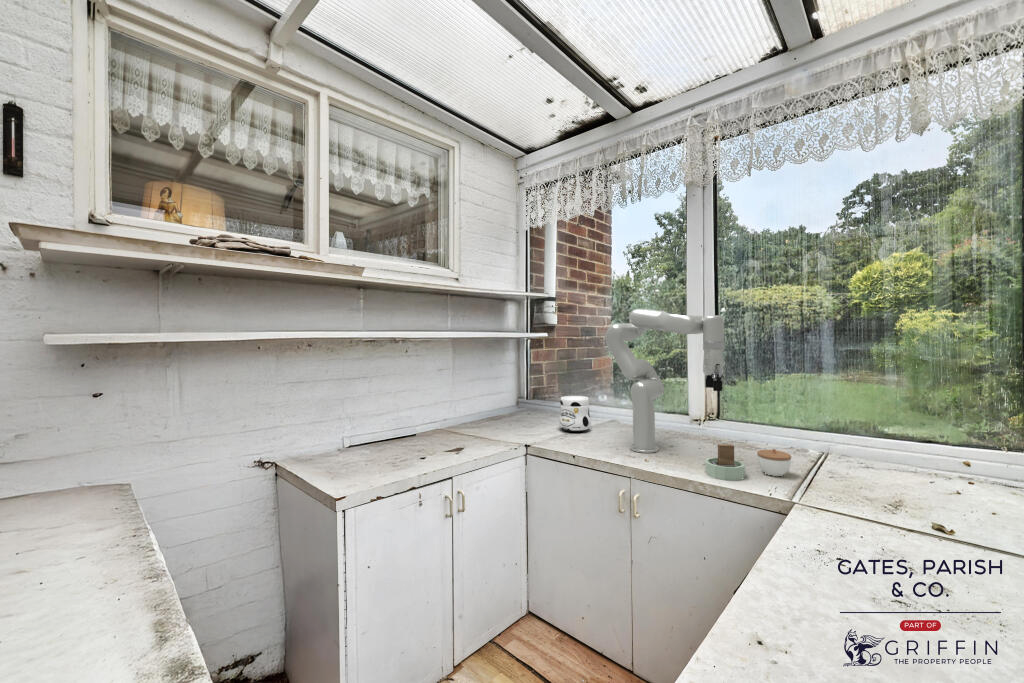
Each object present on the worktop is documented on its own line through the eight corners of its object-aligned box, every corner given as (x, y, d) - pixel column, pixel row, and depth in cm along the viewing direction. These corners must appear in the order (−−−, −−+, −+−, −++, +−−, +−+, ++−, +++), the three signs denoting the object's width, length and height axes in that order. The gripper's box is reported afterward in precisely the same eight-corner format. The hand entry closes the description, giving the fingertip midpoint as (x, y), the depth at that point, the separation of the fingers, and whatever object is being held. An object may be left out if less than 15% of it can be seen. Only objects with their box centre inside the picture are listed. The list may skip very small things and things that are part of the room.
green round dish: (701, 468, 167) (701, 456, 167) (736, 469, 165) (736, 457, 165) (711, 479, 154) (711, 467, 154) (750, 480, 152) (750, 468, 152)
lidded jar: (796, 479, 152) (796, 453, 152) (763, 478, 155) (763, 452, 154) (783, 470, 163) (783, 445, 163) (753, 468, 165) (753, 444, 165)
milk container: (558, 433, 227) (557, 400, 227) (560, 426, 244) (559, 395, 244) (591, 434, 225) (590, 400, 224) (590, 427, 242) (590, 395, 241)
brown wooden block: (717, 470, 161) (717, 444, 161) (731, 470, 160) (731, 444, 160) (720, 472, 158) (719, 445, 158) (734, 473, 158) (734, 446, 157)
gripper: (697, 345, 179) (697, 386, 180) (710, 347, 162) (710, 392, 163) (716, 345, 178) (716, 386, 179) (731, 347, 161) (731, 392, 162)
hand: (713, 389), depth 171 cm, fingers open, 9 cm apart
